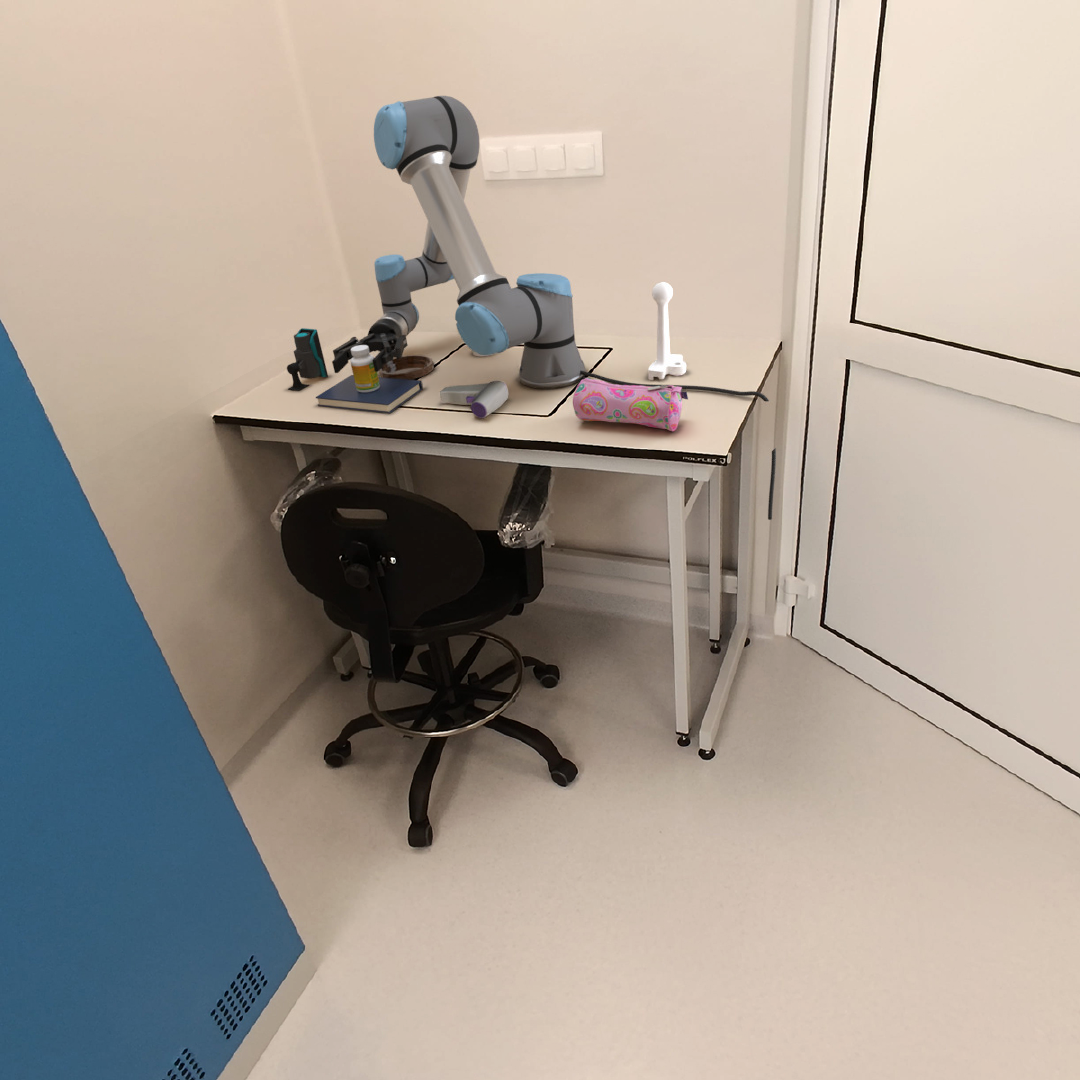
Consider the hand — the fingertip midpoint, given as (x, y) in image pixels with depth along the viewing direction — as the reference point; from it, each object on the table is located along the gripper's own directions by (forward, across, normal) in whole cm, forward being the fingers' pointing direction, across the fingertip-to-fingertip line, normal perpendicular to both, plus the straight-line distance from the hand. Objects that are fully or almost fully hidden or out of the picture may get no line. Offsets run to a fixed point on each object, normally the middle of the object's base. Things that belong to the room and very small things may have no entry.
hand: (355, 366), depth 177 cm
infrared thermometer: (+3, -26, -10) cm, 27 cm away
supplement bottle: (-5, 0, -7) cm, 9 cm away
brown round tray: (-21, -4, -9) cm, 23 cm away
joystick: (-15, -68, -10) cm, 71 cm away
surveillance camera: (-15, +20, -10) cm, 27 cm away
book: (-5, 0, -9) cm, 10 cm away
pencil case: (+13, -61, -10) cm, 63 cm away
